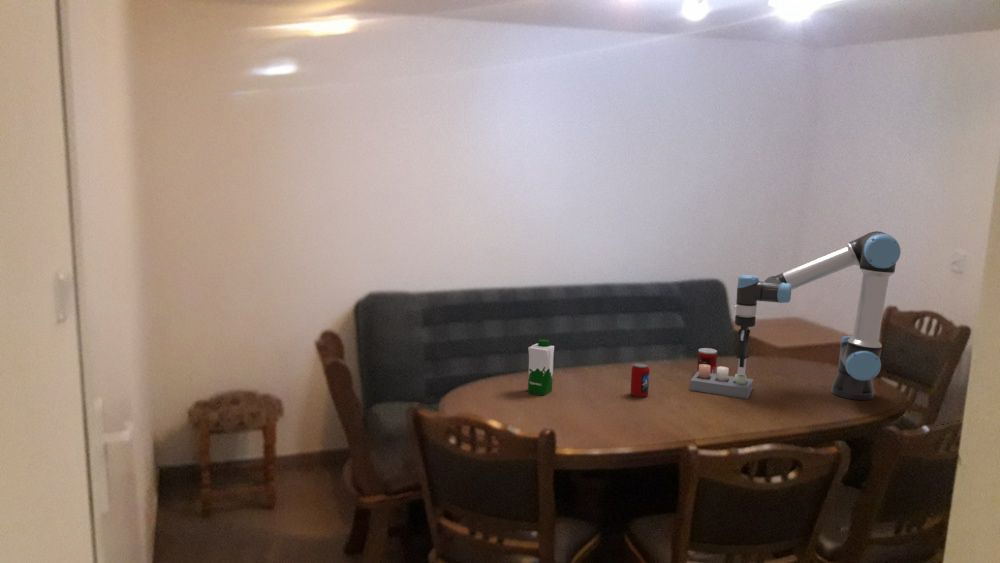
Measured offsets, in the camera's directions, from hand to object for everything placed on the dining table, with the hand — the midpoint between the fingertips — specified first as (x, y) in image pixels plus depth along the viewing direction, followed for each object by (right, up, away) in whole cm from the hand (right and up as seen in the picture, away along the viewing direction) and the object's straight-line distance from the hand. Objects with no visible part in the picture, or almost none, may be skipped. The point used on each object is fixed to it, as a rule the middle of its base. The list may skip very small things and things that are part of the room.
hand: (741, 374), depth 302 cm
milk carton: (-79, -6, -4) cm, 79 cm away
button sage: (0, -5, +1) cm, 5 cm away
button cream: (-6, -3, +3) cm, 8 cm away
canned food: (-8, -3, +23) cm, 25 cm away
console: (-7, -6, +4) cm, 10 cm away
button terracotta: (-13, -2, +6) cm, 14 cm away
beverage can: (-41, -7, -5) cm, 42 cm away
